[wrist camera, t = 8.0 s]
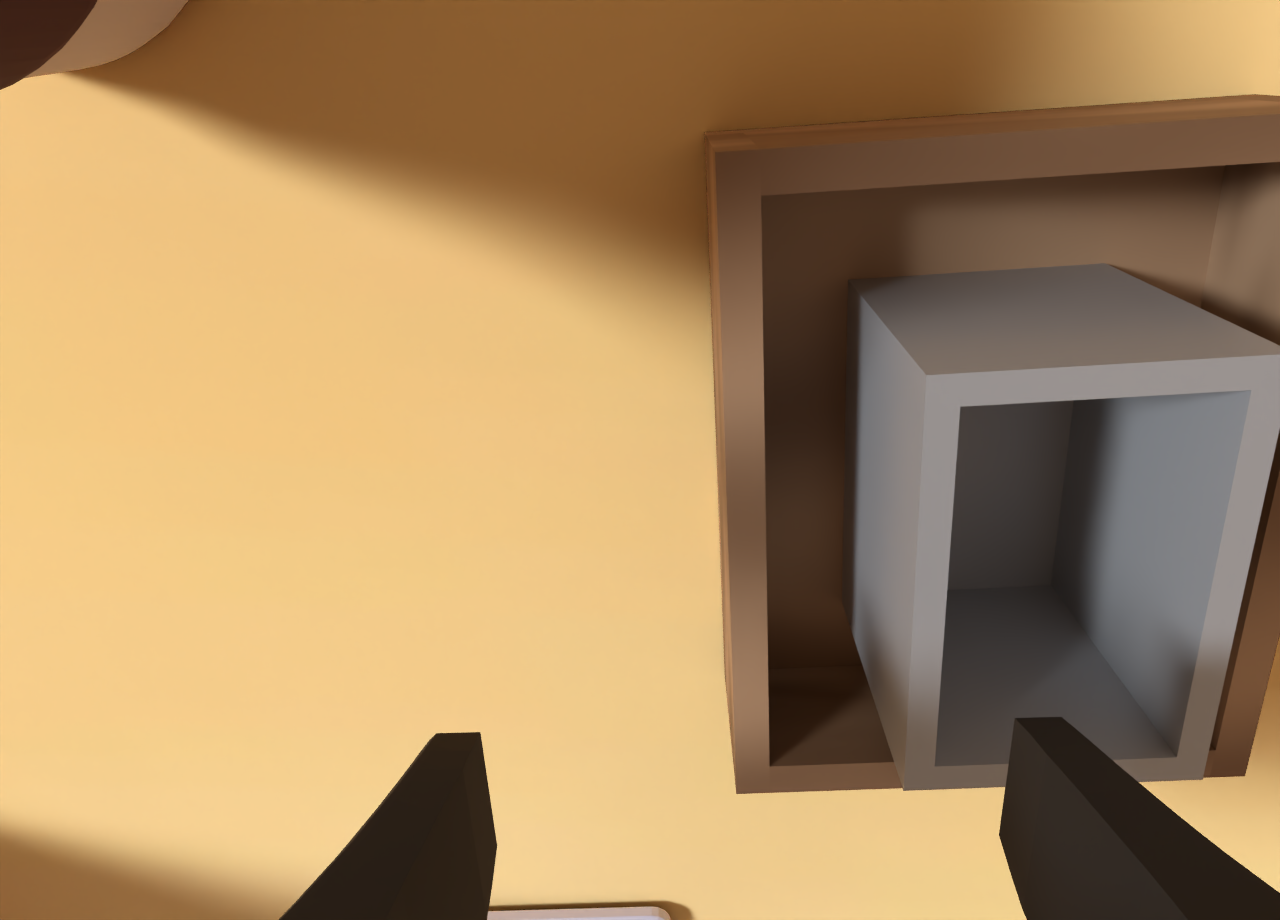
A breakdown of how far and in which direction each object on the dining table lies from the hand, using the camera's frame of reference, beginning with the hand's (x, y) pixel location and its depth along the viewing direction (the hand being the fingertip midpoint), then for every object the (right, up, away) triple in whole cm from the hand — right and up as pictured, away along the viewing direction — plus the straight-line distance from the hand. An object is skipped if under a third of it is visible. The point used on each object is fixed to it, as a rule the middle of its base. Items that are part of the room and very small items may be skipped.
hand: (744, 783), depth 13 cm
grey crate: (+5, +5, +7) cm, 10 cm away
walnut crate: (+5, +5, +8) cm, 11 cm away
